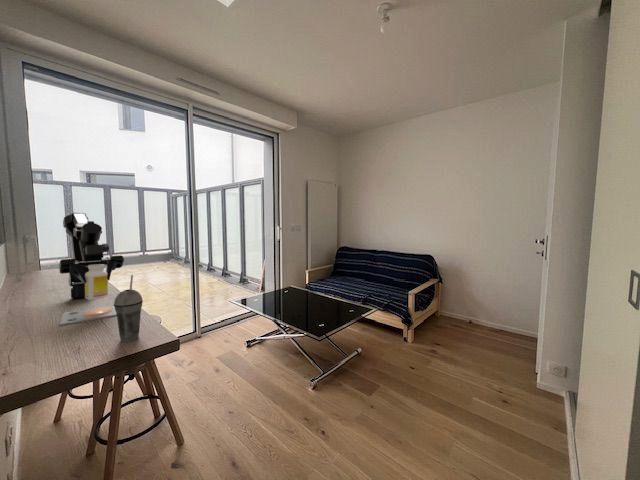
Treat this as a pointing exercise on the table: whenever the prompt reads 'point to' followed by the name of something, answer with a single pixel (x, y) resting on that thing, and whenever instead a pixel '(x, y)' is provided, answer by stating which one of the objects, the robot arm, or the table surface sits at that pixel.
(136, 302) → the beverage cup
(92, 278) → the supplement bottle
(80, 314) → the plate
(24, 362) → the table surface
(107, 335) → the table surface
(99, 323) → the table surface
